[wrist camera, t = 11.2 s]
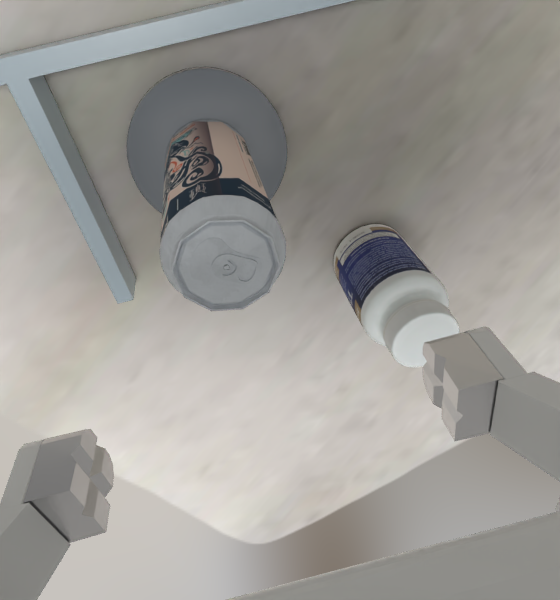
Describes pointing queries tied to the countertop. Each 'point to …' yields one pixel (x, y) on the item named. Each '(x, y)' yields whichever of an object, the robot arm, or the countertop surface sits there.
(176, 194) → the beer can
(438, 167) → the countertop surface
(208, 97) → the coaster
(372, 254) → the pill bottle
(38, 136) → the divider wall
